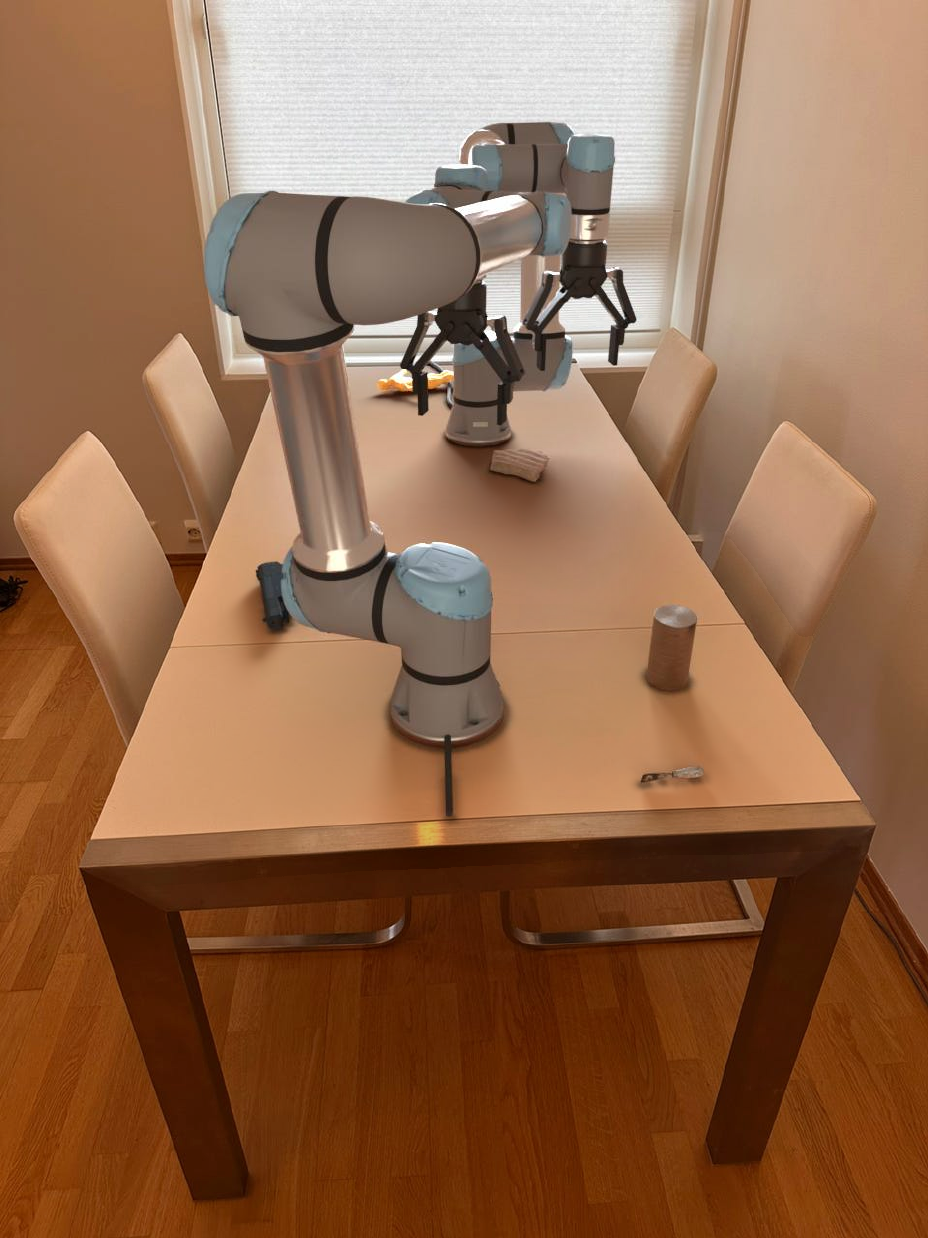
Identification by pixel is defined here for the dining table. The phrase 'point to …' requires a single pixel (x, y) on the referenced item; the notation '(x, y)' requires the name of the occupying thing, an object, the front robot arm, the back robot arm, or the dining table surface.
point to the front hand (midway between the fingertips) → (462, 417)
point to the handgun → (272, 594)
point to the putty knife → (674, 774)
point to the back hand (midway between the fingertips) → (576, 366)
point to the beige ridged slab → (519, 462)
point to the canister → (671, 647)
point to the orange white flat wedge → (406, 383)
